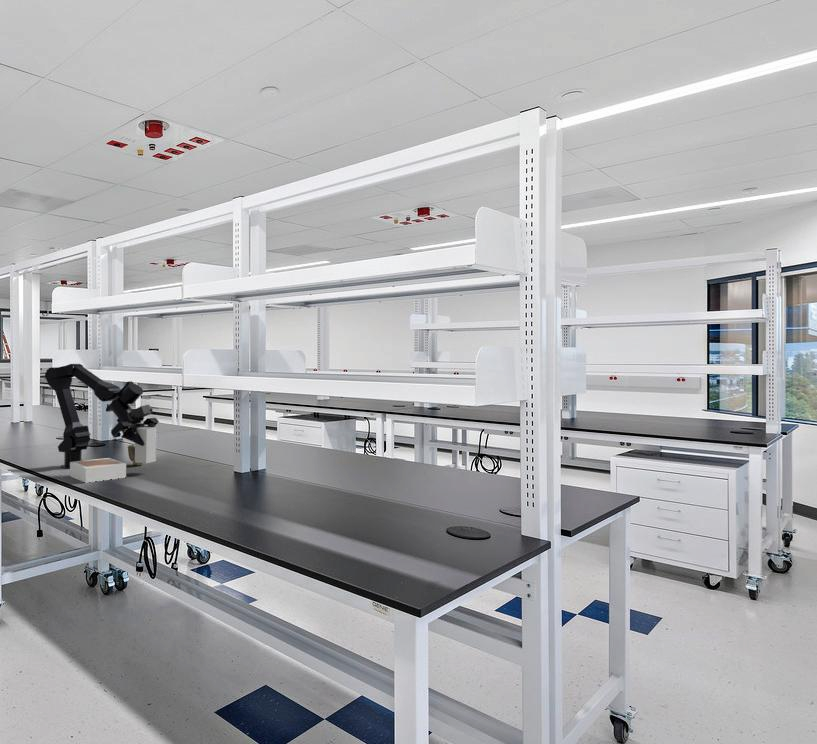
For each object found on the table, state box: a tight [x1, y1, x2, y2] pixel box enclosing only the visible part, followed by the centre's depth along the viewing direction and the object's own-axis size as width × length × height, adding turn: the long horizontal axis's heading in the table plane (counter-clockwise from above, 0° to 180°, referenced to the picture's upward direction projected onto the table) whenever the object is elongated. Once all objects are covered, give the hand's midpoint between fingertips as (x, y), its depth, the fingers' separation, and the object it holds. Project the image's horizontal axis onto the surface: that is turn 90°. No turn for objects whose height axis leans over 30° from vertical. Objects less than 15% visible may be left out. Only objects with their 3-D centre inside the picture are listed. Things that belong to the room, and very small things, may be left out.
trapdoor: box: [77, 458, 120, 467], centre depth 204 cm, size 12×10×4 cm
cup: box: [127, 444, 144, 467], centre depth 226 cm, size 8×7×8 cm
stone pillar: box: [134, 426, 157, 464], centre depth 211 cm, size 5×5×12 cm
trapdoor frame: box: [69, 457, 127, 484], centre depth 204 cm, size 15×13×5 cm
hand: (148, 444), depth 211 cm, fingers closed on stone pillar, 5 cm apart
